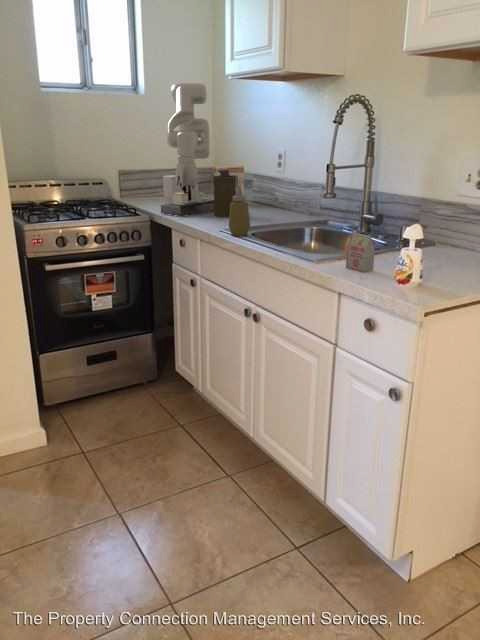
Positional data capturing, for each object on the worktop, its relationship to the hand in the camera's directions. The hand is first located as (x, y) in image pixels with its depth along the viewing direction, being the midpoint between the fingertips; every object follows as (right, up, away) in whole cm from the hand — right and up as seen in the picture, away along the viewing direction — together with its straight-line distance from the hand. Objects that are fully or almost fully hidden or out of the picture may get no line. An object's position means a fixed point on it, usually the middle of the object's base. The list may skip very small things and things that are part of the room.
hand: (187, 200), depth 258 cm
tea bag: (+58, -42, -103) cm, 126 cm away
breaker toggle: (-3, -2, -3) cm, 5 cm away
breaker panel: (+1, -5, +3) cm, 6 cm away
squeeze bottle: (+24, -25, -54) cm, 64 cm away
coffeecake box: (+19, +3, +25) cm, 32 cm away
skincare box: (-9, +1, +19) cm, 21 cm away
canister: (+18, -9, -8) cm, 21 cm away
